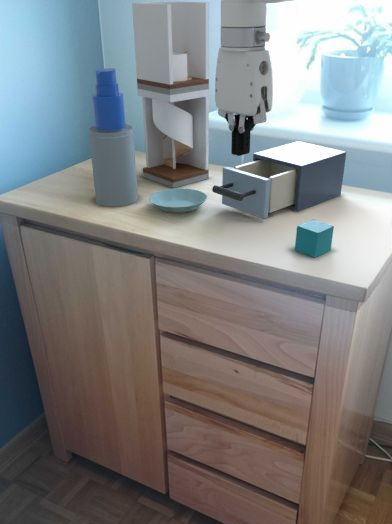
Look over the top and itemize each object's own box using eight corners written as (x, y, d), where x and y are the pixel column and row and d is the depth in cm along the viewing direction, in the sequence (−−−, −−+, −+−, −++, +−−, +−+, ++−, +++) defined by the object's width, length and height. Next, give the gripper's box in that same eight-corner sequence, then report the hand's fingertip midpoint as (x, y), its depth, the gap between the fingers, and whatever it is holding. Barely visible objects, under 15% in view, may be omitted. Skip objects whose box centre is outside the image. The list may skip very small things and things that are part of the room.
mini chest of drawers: (297, 212, 112) (301, 165, 107) (251, 196, 119) (253, 153, 114) (340, 195, 120) (346, 151, 115) (294, 182, 128) (298, 141, 122)
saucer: (137, 209, 114) (136, 198, 113) (176, 194, 121) (176, 184, 120) (180, 222, 107) (179, 211, 106) (218, 206, 115) (219, 195, 113)
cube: (330, 250, 96) (334, 226, 94) (315, 257, 94) (317, 233, 91) (310, 243, 99) (313, 219, 96) (294, 250, 96) (296, 225, 94)
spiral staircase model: (143, 176, 132) (132, 3, 113) (177, 168, 138) (173, 1, 118) (173, 188, 125) (167, 4, 105) (208, 178, 131) (209, 2, 111)
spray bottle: (125, 189, 124) (115, 64, 110) (145, 200, 118) (137, 69, 104) (89, 197, 120) (73, 68, 106) (107, 209, 114) (94, 74, 100)
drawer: (246, 225, 104) (247, 186, 100) (204, 209, 111) (204, 172, 107) (308, 202, 114) (312, 165, 110) (266, 189, 121) (268, 154, 117)
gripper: (293, 39, 89) (285, 157, 99) (227, 35, 99) (226, 143, 109) (261, 43, 85) (256, 165, 95) (195, 38, 94) (197, 150, 104)
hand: (240, 153), depth 102 cm, fingers closed
